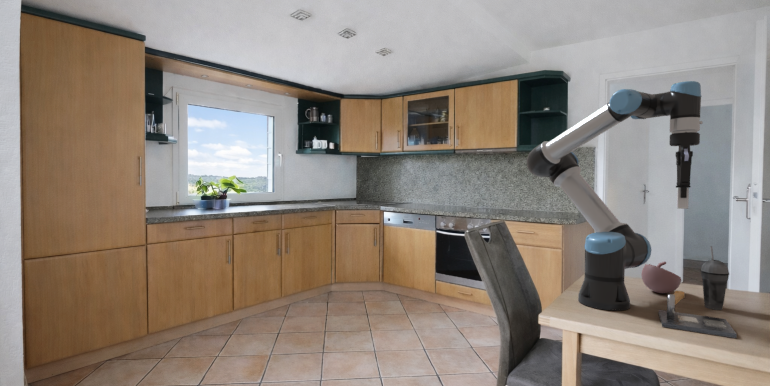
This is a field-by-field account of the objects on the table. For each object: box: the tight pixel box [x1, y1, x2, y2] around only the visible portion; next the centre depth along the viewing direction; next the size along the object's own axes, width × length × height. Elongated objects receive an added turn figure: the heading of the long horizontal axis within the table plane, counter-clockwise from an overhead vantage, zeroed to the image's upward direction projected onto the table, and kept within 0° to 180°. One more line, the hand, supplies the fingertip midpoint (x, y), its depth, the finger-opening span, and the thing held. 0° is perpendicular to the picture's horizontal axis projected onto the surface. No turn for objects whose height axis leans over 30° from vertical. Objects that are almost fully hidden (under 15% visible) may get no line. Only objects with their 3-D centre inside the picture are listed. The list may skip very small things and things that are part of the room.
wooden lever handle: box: [672, 290, 685, 306], centre depth 122 cm, size 12×2×2 cm, turn 134°
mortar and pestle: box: [641, 261, 682, 294], centre depth 146 cm, size 12×12×12 cm
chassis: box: [657, 293, 738, 339], centre depth 114 cm, size 16×13×8 cm
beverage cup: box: [700, 245, 730, 311], centre depth 129 cm, size 7×7×20 cm
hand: (682, 208), depth 125 cm, fingers closed
